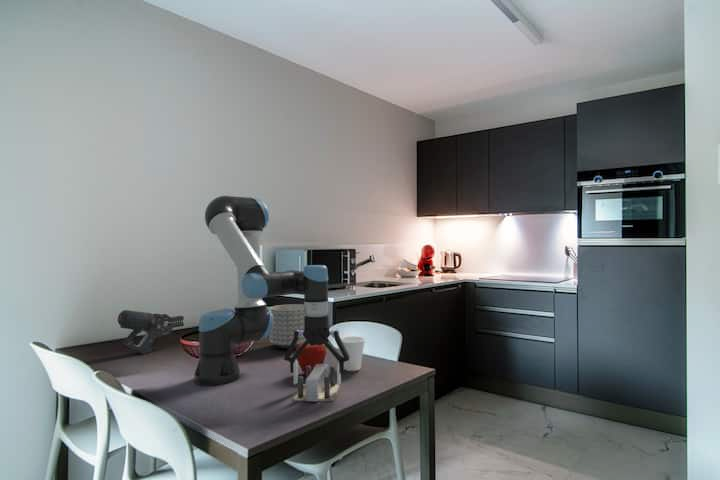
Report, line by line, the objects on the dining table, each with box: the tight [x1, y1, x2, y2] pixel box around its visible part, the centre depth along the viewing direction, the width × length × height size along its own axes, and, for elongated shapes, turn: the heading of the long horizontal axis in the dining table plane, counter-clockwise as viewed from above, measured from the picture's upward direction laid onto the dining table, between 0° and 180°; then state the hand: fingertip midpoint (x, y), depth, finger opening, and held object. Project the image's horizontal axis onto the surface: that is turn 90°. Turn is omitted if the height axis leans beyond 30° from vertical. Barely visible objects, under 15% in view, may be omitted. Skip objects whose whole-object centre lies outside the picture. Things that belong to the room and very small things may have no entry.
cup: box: [340, 336, 366, 372], centre depth 153 cm, size 10×10×11 cm
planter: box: [268, 303, 306, 350], centre depth 189 cm, size 19×19×18 cm
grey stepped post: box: [305, 363, 330, 402], centre depth 128 cm, size 17×4×6 cm, turn 175°
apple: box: [294, 343, 327, 375], centre depth 147 cm, size 11×11×12 cm
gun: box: [117, 309, 185, 355], centre depth 184 cm, size 7×28×20 cm, turn 144°
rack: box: [292, 365, 341, 402], centre depth 128 cm, size 12×13×7 cm
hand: (317, 383), depth 128 cm, fingers open, 13 cm apart
